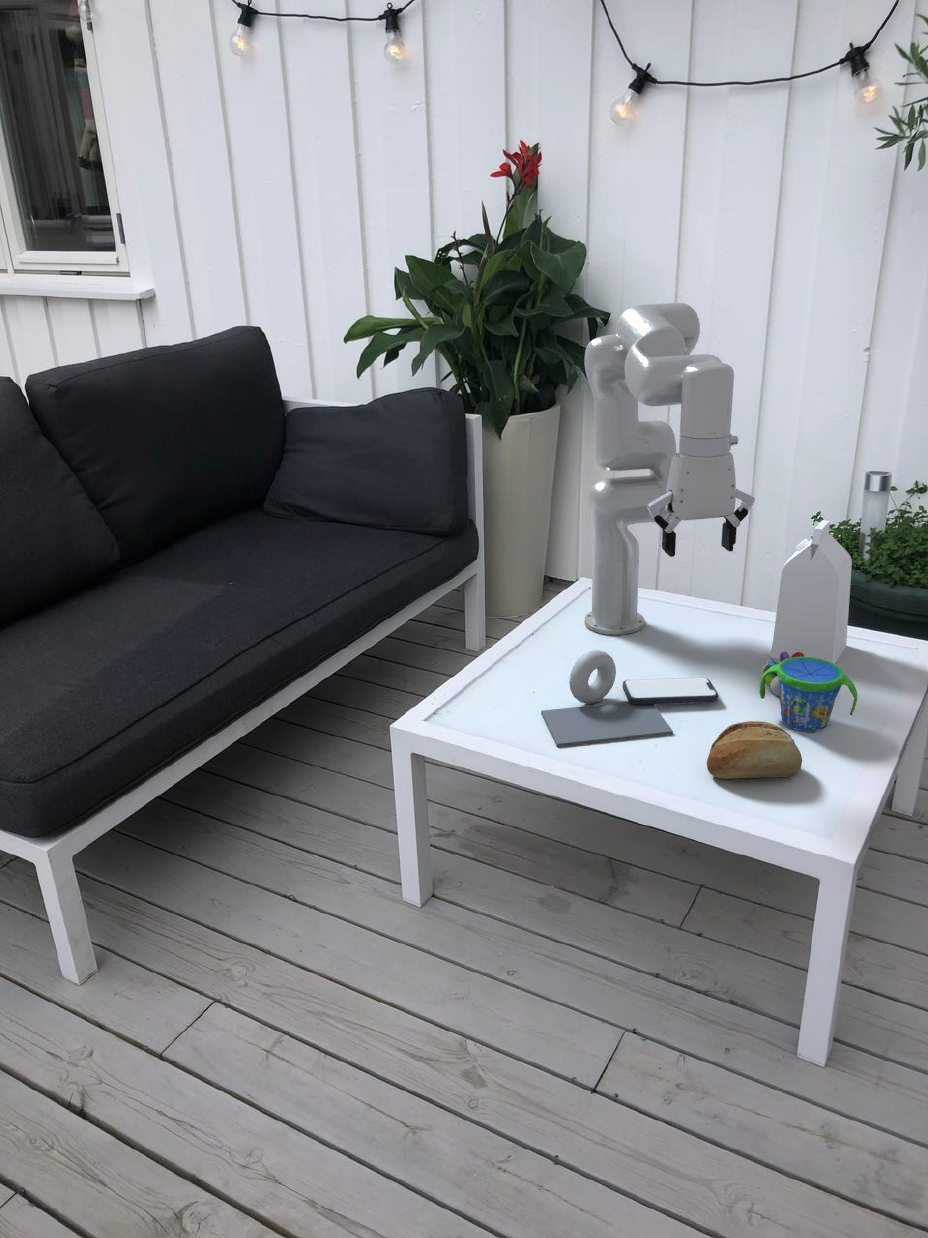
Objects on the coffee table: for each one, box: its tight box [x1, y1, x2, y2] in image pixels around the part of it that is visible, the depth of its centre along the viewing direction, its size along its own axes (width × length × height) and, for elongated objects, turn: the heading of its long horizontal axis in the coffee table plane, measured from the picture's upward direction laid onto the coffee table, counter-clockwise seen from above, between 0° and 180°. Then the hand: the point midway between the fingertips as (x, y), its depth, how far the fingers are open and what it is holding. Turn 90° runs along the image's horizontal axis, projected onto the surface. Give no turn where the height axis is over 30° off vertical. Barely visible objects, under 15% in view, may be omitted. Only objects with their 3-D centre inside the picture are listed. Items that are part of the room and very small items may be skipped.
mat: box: [540, 701, 674, 748], centre depth 174 cm, size 12×20×1 cm, turn 99°
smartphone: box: [622, 677, 719, 705], centre depth 182 cm, size 9×2×16 cm
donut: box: [568, 649, 617, 705], centre depth 180 cm, size 10×4×10 cm, turn 125°
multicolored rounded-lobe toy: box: [760, 651, 804, 697], centre depth 183 cm, size 8×10×7 cm
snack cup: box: [759, 657, 858, 733], centre depth 170 cm, size 16×10×10 cm
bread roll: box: [706, 720, 803, 780], centre depth 156 cm, size 10×15×8 cm, turn 97°
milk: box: [770, 519, 853, 664], centre depth 193 cm, size 12×12×26 cm
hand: (698, 551), depth 161 cm, fingers open, 9 cm apart
